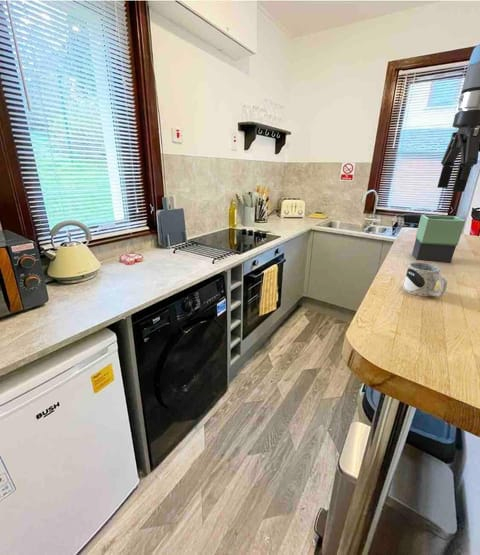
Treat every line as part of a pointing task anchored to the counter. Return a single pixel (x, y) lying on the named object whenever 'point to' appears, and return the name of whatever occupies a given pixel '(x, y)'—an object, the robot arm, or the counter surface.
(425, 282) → the mug
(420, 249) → the charcoal basket
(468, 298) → the counter surface
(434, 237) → the green basket
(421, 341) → the counter surface
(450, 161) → the robot arm
